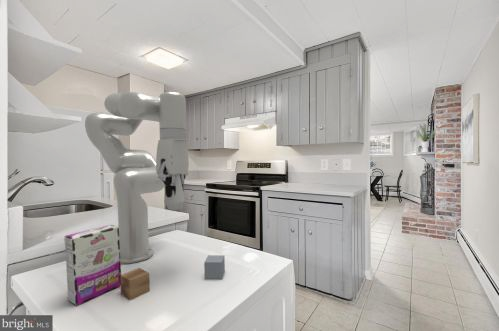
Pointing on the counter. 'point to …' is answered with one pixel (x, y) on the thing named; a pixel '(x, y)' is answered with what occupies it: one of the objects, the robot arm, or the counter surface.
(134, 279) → the walnut block
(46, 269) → the counter surface
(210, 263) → the slate-grey block
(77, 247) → the candy bar box
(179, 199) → the salt shaker
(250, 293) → the counter surface
